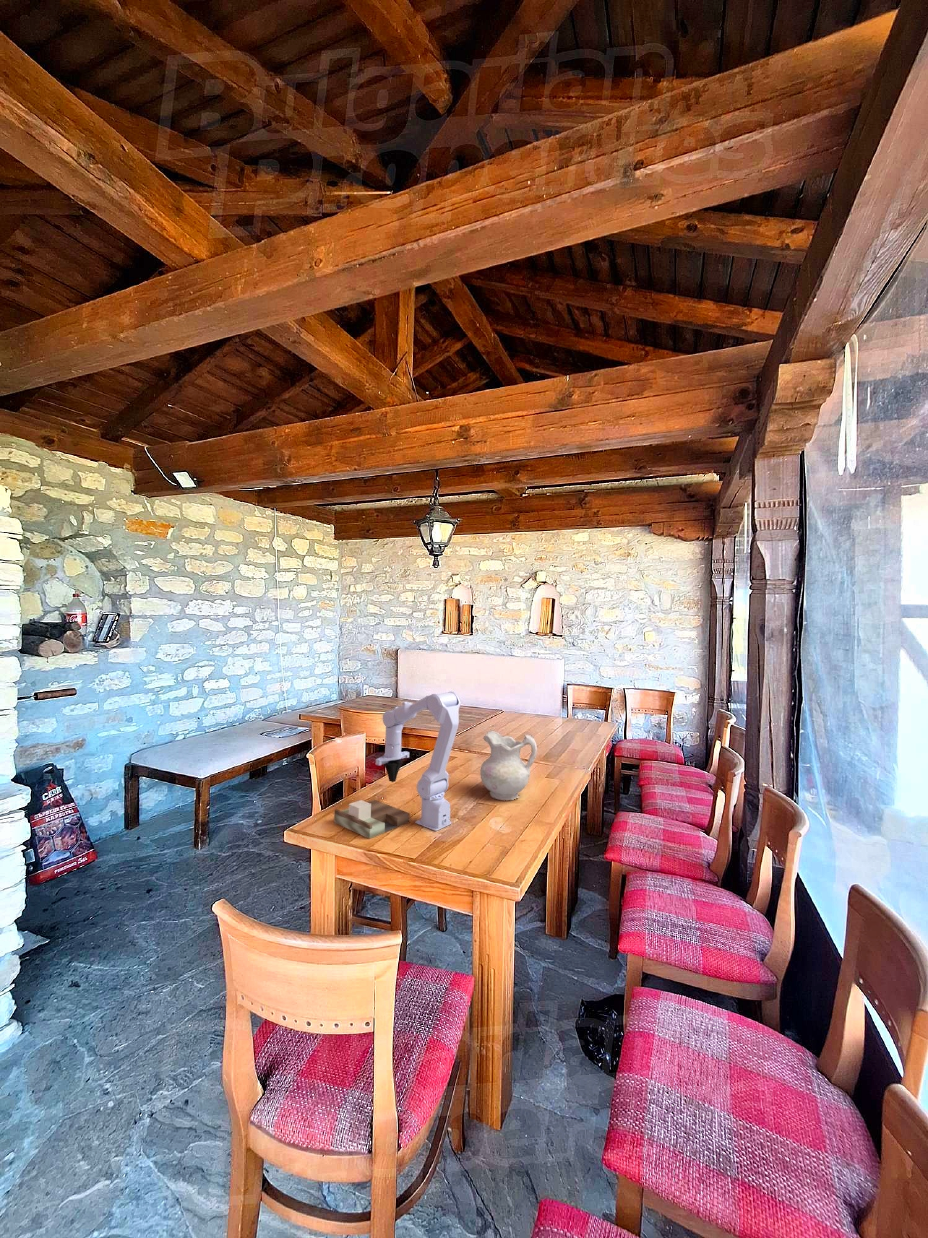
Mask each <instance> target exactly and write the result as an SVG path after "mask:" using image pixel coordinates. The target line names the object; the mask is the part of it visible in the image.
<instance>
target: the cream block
mask: <svg viewBox="0 0 928 1238" xmlns="http://www.w3.org/2000/svg"><path fill="white" fill-rule="evenodd" d="M368 802H369V801H364V800H362V799H360V800H357V801H354V802H351V803H349V804H348V808H349V815H351V816H354V817H356V818H358V819H361V820H366V819H369V818H371V804H370V803H368Z"/></svg>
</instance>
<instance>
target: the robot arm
mask: <svg viewBox="0 0 928 1238" xmlns="http://www.w3.org/2000/svg"><path fill="white" fill-rule="evenodd" d="M461 704H462V703H461V700H460V698H459V696H458V695H457V693H456V692H454V691H448V692H441V693H432V694H429V695H426V696H425V697H422V698H421V699H419V700H417V701H416V702H413V703H412V702H408V701H405V702H402V705H399V706H395V707H393V708H394V709H392V710H386V711H385V712H384V713H383V715H382V723H383V724H384V727H385V739H384V740H385V743H384V744H385V746H384V747H385V748H384V753H383V755H382V756H380V757H378V758H376V759H375V765H376V766H382V765H384V768H385V770H386V773H387V776H388V777H387V778H388V781H389V782H392V783H394V782H396V780H397V777H398V774H399V771H400V769H401V767H402V765H403V760H401V759H405V758H407V759H408V758H410V751H406V750H405V751H402V730H403V729H404V724H405V723H406V722H408V721H411V720H413V719H414V718H416V716H417V714H418V713H420V712H422V711H424V710H427V711H429V712H430V714H431V715H432V717H433V718H434V719H435V720H436V721H437V723H439V724H440V727H439V731H438V733H437V736H436V737H437V738H436V740H435V741H436V742H435V745H434V749H433V752H432V755H431V759H430V763H429V766H428V768H427V769H426V770H425V771H424V772H423V773H421V774H422V775H421V777H420V779H419V780H418V781H417V784H416V791H417V793H418V796H419V797H420V798H421V809H420V810H421V812H420V819H418V820H416V821H415V824H417V825H419V826H422V827H425V828H427V829H430V830H432V831H435V832H437V831H439V830H441V829H444V828H445V827H448V826H449V825H451V824H452V821H451V804H450V802H449V801H448V800H447V799H446V798H445V795H446V793H445V792H447V790H448V788H449V778H450V774H449V773H448V771H447V770H446V769H447V767H448V763H449V759H450V755H451V754H452V753H451V752H452V749H453V746H454V742H455V738H456V735H457V731H458V728H459V724H460V723H459V722H460V719H459V718H460V717H459V713H460V712H459V711H460V707H461V706H462V705H461Z"/></svg>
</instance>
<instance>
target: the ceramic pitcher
mask: <svg viewBox="0 0 928 1238" xmlns="http://www.w3.org/2000/svg"><path fill="white" fill-rule="evenodd" d="M523 737H524V738H523V739H522V740H516V739H514V737H512V736H507V735H505V736H502V735H501V734H500V733H499V731H494V730H490V731H487V733H486V734H485V735H483V737H482V738H483V740H484V742H486V743H488V745H489V748H490V756H489V757H488V758H487V759H486V760H485V761H483V762H482V764H481V766H480V772H479V773H480V780H481V782H482V784H483V785H484V787H485V788H486V789H487V790H488V791H489V795H490V797H491V798H493V799H495V800H498V801H501V800H504V801H505V800H506V801H514V799H515V798H517V797H519V798H520V796H518V794H519V793H520V792H522V791H523V790H524V789H525V788H526V787H527V785H528V783H529V780H530V775H531V766H533V764H534V762H535V759H536V757H537V755H538V754H537V753H538V745H537V742H536V740H535V737H534V736H533V734H524V735H523ZM527 745H529V746H530V748H531V753H530V754H529V755H530V756H529V758H528V760H527V763H526V762H524V761H523V760H522V758H521V756H520V755H521V754H520V753H521V749H522V748H523V747H525V746H527ZM515 800H516V799H515ZM504 801H503V802H504Z"/></svg>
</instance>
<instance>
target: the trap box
mask: <svg viewBox="0 0 928 1238" xmlns="http://www.w3.org/2000/svg"><path fill="white" fill-rule="evenodd" d="M367 802H368V803H370V804H371V818H369V819H366V820H361V819H358V818H356V817H354V816H351V815H349V807H348V808H346V809H344V810H340V809H337V808H336V809H334V814H333V815H334V816H333V817H334V818H333V819H334V820H333V822H334V823H335V824H337V825H338V826H341V827H343V828H345V829H347V830H350V831H352V832H354V833H355V834H359V835H361V836H363V837H364V838H367V839H369V840H370V839H373V838H375V837H378V836H380V835H383V834H385V833H387V832H389V831H392V830H394V829H396V828H400V827H401V826H404V825H406V824H408V823H410V817H411V815H410V814H411V813H410V812H408V811H404V810H403V809H400V808H397V807H395V806H392V805H390V804H388V803H387V804H386V803H384V802H382V801H379V800H377V799H371V800H369V801H367Z"/></svg>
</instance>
